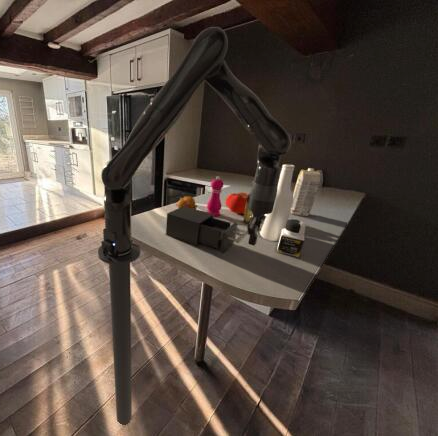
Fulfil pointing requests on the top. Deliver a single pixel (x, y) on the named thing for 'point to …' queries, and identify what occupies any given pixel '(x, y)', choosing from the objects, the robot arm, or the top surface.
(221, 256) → the top surface
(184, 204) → the orange rounded lump
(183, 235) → the cabinet
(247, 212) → the sauce bottle
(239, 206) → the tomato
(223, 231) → the block
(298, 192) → the juice carton
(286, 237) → the medicine bottle
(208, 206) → the pepper mill
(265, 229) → the alcohol
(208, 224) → the drawer
